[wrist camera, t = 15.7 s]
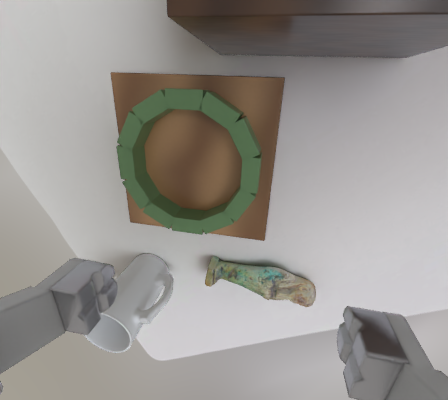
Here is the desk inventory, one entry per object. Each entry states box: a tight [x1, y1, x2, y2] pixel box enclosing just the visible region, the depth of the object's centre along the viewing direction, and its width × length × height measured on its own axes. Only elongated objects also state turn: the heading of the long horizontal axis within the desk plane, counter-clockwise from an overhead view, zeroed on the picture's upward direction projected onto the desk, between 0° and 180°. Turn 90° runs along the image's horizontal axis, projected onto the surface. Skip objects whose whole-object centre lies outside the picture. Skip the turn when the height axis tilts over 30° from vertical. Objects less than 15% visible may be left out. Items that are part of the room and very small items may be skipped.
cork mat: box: [111, 72, 285, 241], centre depth 31 cm, size 20×20×1 cm
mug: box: [84, 254, 173, 353], centre depth 34 cm, size 10×7×12 cm, turn 109°
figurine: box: [205, 256, 316, 307], centre depth 34 cm, size 6×15×4 cm, turn 75°
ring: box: [117, 88, 262, 234], centre depth 29 cm, size 17×17×3 cm
